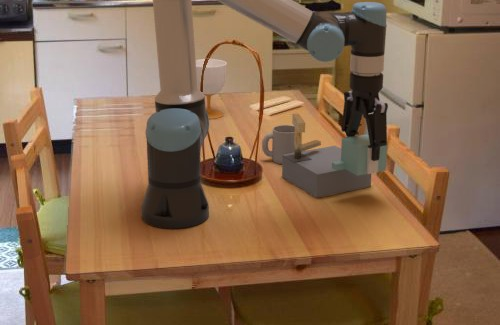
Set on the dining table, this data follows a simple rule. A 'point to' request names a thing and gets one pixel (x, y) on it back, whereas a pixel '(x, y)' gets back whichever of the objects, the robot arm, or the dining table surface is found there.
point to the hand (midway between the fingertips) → (361, 167)
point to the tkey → (298, 145)
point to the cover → (358, 155)
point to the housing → (321, 173)
